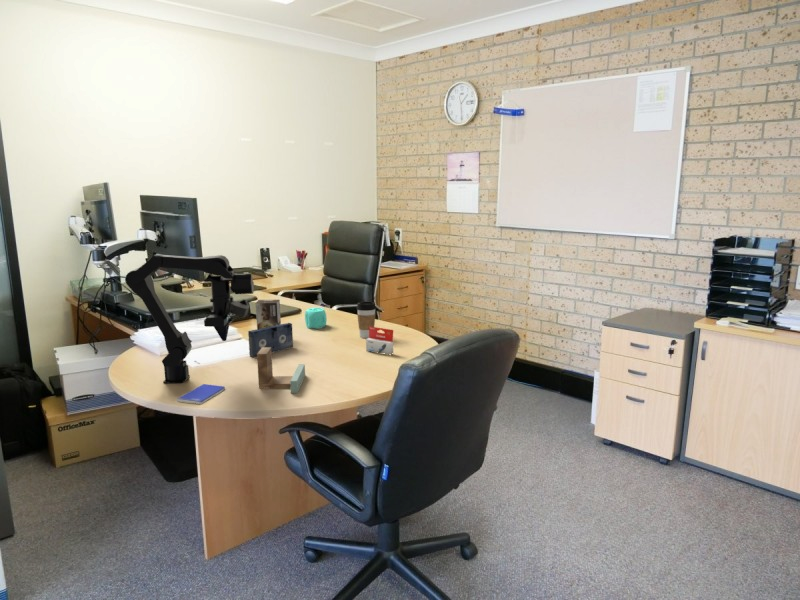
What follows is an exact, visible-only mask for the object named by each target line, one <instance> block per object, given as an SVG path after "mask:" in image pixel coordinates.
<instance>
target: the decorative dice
mask: <svg viewBox="0 0 800 600" xmlns="http://www.w3.org/2000/svg"><path fill="white" fill-rule="evenodd" d="M304 320H305V325H306V328H309V329H314V330H315V329H321V328H325V326H326V325H327V313H326V310H325V309H324V308H322V307H310V308H307V309H306V310H305V312H304Z"/></svg>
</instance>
